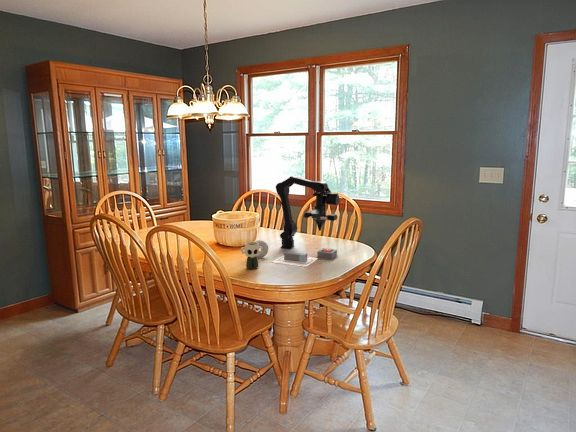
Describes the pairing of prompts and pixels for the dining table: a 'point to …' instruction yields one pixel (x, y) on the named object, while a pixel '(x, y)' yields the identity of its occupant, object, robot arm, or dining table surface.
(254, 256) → the big-eyed character figurine
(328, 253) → the button housing
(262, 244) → the donut
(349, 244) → the dining table surface
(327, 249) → the button
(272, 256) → the dining table surface
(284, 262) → the paper sheet
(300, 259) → the gray rectangular block
